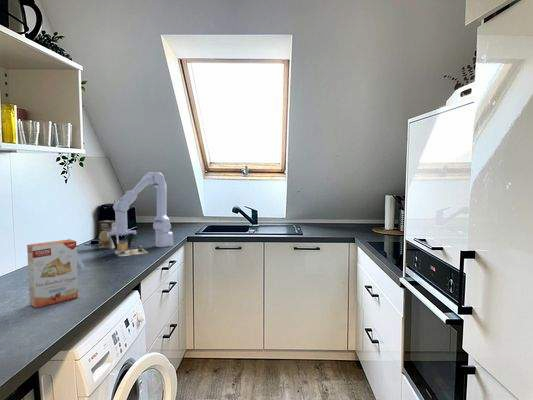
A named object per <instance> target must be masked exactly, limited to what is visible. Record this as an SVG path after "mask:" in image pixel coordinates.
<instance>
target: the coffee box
mask: <svg viewBox="0 0 533 400" xmlns="http://www.w3.org/2000/svg"><path fill="white" fill-rule="evenodd" d="M109 232H116V220H109V219H105V220H99V221H98V246H99V247H98V249H115V246H114V243H113V241H112V239H111V237H107V233H109ZM116 238H117V243H119V242H120V239H119V236H116Z"/></svg>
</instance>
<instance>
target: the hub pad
mask: <svg viewBox="0 0 533 400" xmlns="http://www.w3.org/2000/svg"><path fill="white" fill-rule="evenodd" d="M129 253H130V252H127V251H125V253H121V252H117V253H115V252H114V254H115V255H117V256H118V255H125V254H129Z"/></svg>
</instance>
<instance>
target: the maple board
mask: <svg viewBox="0 0 533 400" xmlns="http://www.w3.org/2000/svg"><path fill="white" fill-rule="evenodd" d="M117 252H118V251H117V250H115V251H114V254H115V253H117ZM127 252H130V253H129V254H125V255H117V257H126V256H135V255H143V254H144V255H145V254H149V252H148V251H147V250H145V249H144V248H143V247H142V251H141V252H138V248H135V249H134V248H133V249H129V250H128V251H127Z"/></svg>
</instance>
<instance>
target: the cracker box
mask: <svg viewBox="0 0 533 400" xmlns="http://www.w3.org/2000/svg"><path fill="white" fill-rule="evenodd" d="M26 250H27V271H28V272H27V273H28V275H27V276H28V292H29V305H30V306H32V307H33V308H34V309H38V308H41V307H46V306H50V305H53V304H58V302H59V303H62V301H63V302H65V300H67V301H70V300H69V299H71V300H73V299H72V298H75V299H77V298H76V297H78V298H79V283H78V281H79V280H78V255H77V254H78V253H77V252H78V251H77V250H78V247H77V241H76V240H74V239H68V238H67V239H61V240H53V241H48V242H45V241H44V242H37V243H30V244H27V245H26Z"/></svg>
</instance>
